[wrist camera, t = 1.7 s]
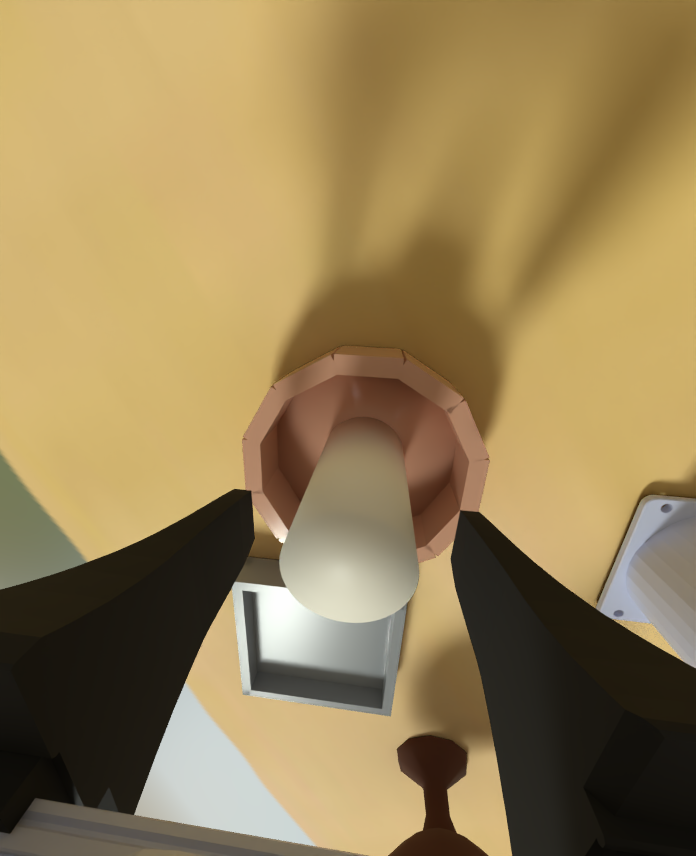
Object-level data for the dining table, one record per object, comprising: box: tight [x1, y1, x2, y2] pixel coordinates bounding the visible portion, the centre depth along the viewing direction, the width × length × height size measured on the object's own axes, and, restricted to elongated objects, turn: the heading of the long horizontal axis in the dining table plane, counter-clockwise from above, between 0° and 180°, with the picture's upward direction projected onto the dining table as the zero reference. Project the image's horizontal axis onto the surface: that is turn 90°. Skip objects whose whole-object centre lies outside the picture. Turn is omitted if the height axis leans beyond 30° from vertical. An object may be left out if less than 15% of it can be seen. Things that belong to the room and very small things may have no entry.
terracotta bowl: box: [242, 345, 490, 563], centre depth 16 cm, size 11×11×3 cm
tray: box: [232, 557, 407, 716], centre depth 21 cm, size 10×10×2 cm
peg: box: [279, 417, 419, 623], centre depth 13 cm, size 4×4×8 cm
